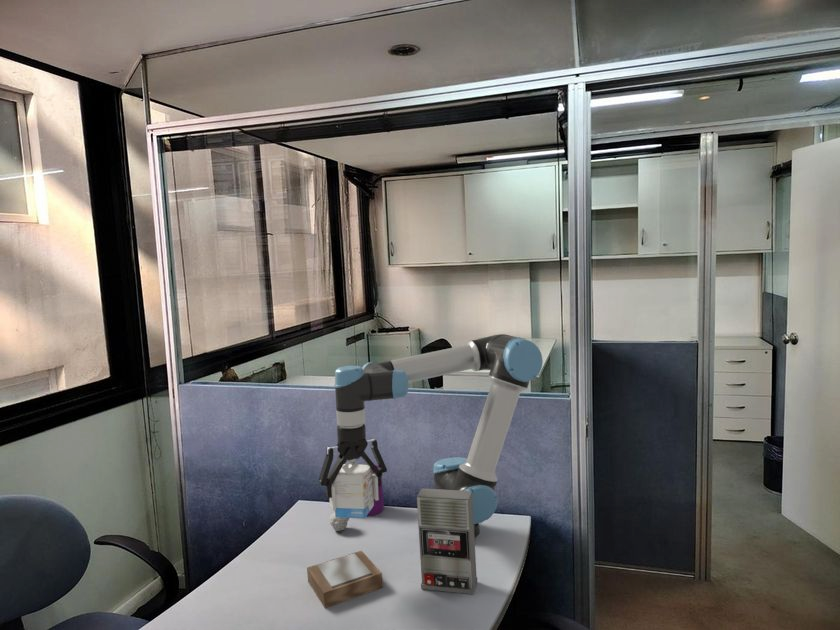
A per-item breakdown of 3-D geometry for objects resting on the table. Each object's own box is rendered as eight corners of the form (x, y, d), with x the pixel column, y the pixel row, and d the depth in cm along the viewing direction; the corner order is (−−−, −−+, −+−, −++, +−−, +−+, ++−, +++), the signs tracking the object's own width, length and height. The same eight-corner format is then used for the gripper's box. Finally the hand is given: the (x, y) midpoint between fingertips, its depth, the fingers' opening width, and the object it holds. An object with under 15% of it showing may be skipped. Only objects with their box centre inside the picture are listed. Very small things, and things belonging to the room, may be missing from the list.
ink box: (364, 519, 147) (362, 469, 146) (334, 517, 149) (332, 468, 147) (374, 505, 155) (372, 458, 154) (345, 503, 157) (343, 457, 156)
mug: (384, 515, 191) (381, 472, 189) (338, 519, 190) (334, 476, 188) (384, 503, 200) (381, 463, 198) (340, 507, 199) (337, 466, 197)
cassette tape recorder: (420, 590, 146) (415, 497, 144) (426, 577, 152) (421, 488, 149) (473, 595, 142) (468, 500, 140) (477, 582, 148) (472, 490, 146)
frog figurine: (347, 535, 178) (345, 514, 177) (326, 534, 180) (325, 513, 179) (354, 526, 184) (352, 506, 183) (334, 525, 186) (332, 505, 185)
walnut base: (362, 563, 161) (361, 549, 160) (382, 587, 148) (381, 571, 148) (308, 581, 153) (306, 566, 153) (324, 608, 141) (323, 591, 140)
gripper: (386, 414, 159) (389, 489, 160) (303, 428, 148) (307, 508, 149) (397, 420, 152) (400, 498, 154) (311, 435, 141) (315, 519, 143)
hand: (354, 503), depth 152 cm, fingers closed on ink box, 11 cm apart
